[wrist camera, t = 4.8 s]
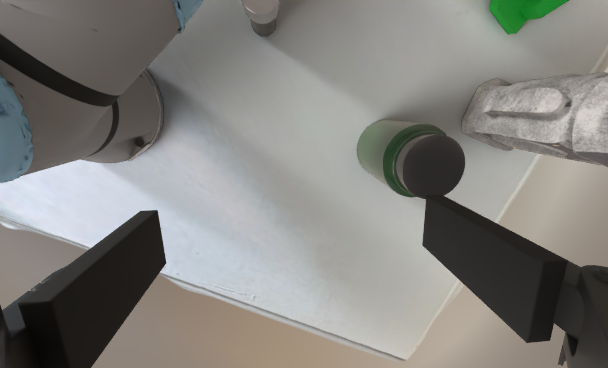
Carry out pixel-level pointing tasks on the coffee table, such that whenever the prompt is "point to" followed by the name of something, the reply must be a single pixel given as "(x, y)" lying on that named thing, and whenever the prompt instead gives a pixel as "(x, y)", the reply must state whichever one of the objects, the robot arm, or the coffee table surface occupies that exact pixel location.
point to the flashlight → (262, 15)
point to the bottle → (411, 157)
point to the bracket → (521, 11)
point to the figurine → (544, 116)
